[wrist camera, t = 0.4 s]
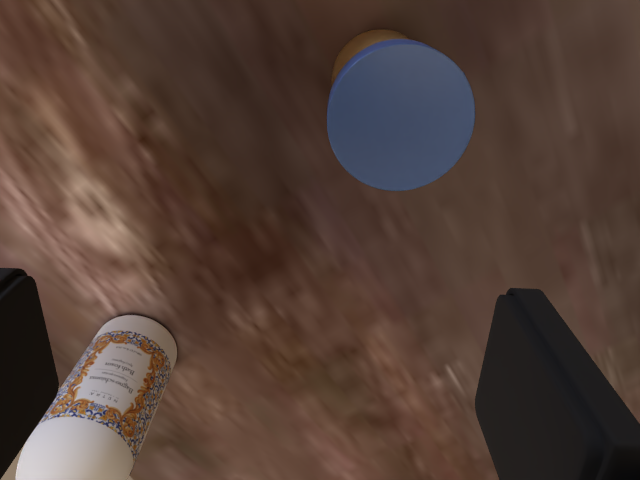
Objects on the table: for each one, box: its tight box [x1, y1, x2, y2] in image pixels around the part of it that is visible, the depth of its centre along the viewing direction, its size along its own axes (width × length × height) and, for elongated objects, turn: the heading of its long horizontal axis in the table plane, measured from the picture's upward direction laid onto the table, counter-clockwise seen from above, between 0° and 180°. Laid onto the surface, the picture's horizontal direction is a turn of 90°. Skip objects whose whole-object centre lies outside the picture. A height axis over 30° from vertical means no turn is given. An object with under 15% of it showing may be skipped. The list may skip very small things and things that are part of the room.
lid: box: [327, 39, 475, 191], centre depth 25 cm, size 7×7×2 cm
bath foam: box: [16, 315, 177, 480], centre depth 35 cm, size 7×7×20 cm
